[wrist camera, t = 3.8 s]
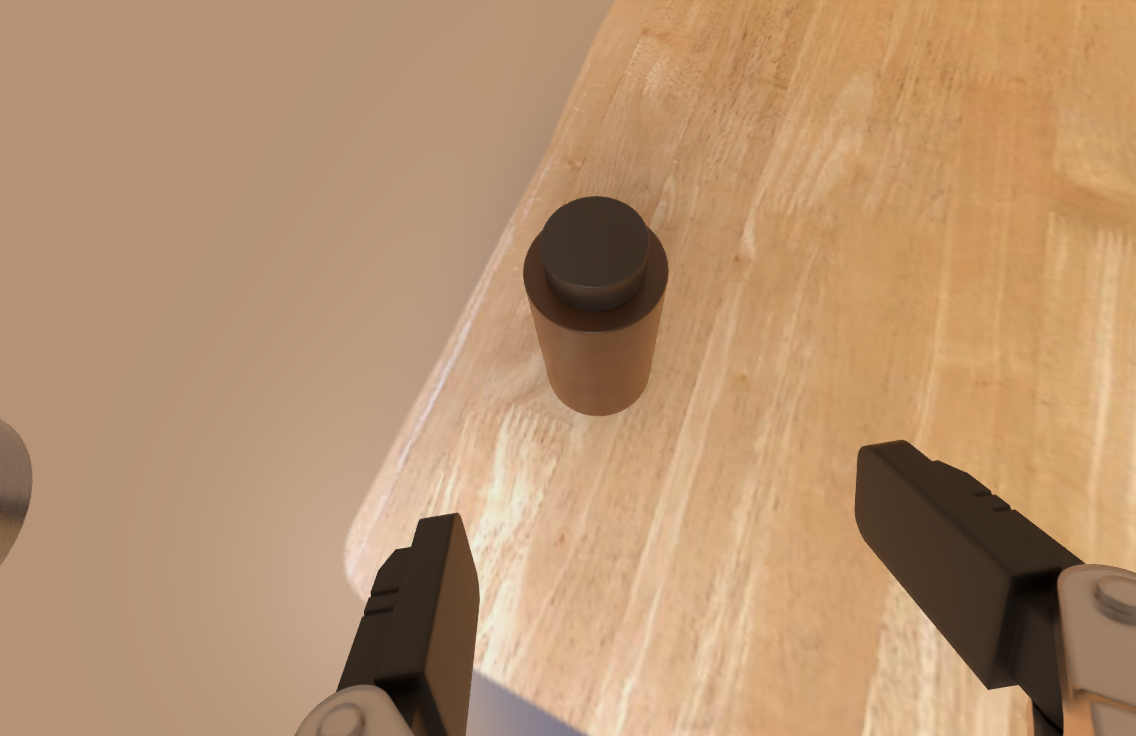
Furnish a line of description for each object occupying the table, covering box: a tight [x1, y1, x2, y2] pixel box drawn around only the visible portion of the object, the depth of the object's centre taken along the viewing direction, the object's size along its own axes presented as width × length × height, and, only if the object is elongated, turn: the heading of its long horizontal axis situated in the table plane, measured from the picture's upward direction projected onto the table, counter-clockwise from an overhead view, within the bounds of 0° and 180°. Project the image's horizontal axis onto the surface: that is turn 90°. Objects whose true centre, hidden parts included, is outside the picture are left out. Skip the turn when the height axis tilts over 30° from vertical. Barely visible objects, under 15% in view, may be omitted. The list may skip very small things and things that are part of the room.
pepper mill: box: [523, 196, 669, 416], centre depth 21 cm, size 5×5×10 cm
